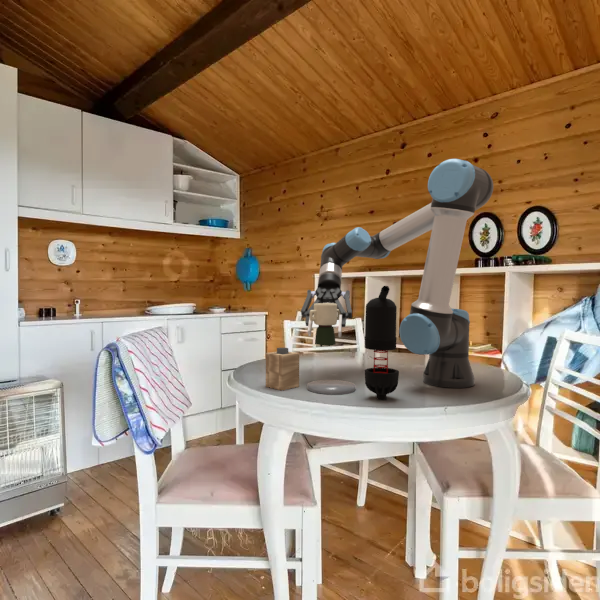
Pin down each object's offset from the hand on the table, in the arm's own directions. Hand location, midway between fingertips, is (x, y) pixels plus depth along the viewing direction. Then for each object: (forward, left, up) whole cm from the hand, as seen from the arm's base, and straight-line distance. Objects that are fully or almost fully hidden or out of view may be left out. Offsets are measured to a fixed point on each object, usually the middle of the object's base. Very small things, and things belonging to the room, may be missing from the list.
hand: (324, 333), depth 132 cm
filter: (-20, 0, -16) cm, 25 cm away
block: (+8, +9, -16) cm, 20 cm away
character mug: (+2, -3, -4) cm, 6 cm away
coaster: (-4, +1, -16) cm, 16 cm away
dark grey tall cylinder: (+8, +9, -14) cm, 19 cm away
